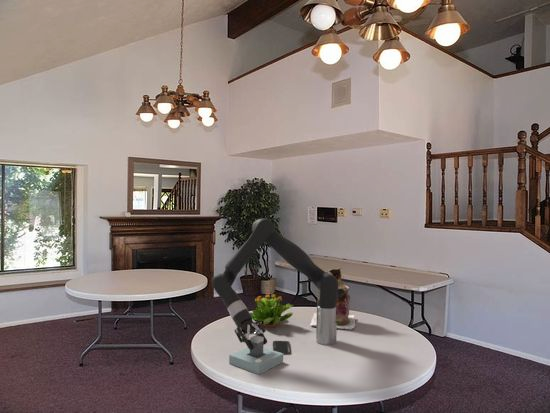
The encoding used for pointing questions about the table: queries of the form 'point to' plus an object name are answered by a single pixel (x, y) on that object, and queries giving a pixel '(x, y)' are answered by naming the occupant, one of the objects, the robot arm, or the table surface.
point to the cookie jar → (340, 305)
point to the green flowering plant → (270, 311)
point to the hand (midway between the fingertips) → (259, 346)
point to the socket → (256, 360)
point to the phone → (281, 347)
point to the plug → (257, 346)
